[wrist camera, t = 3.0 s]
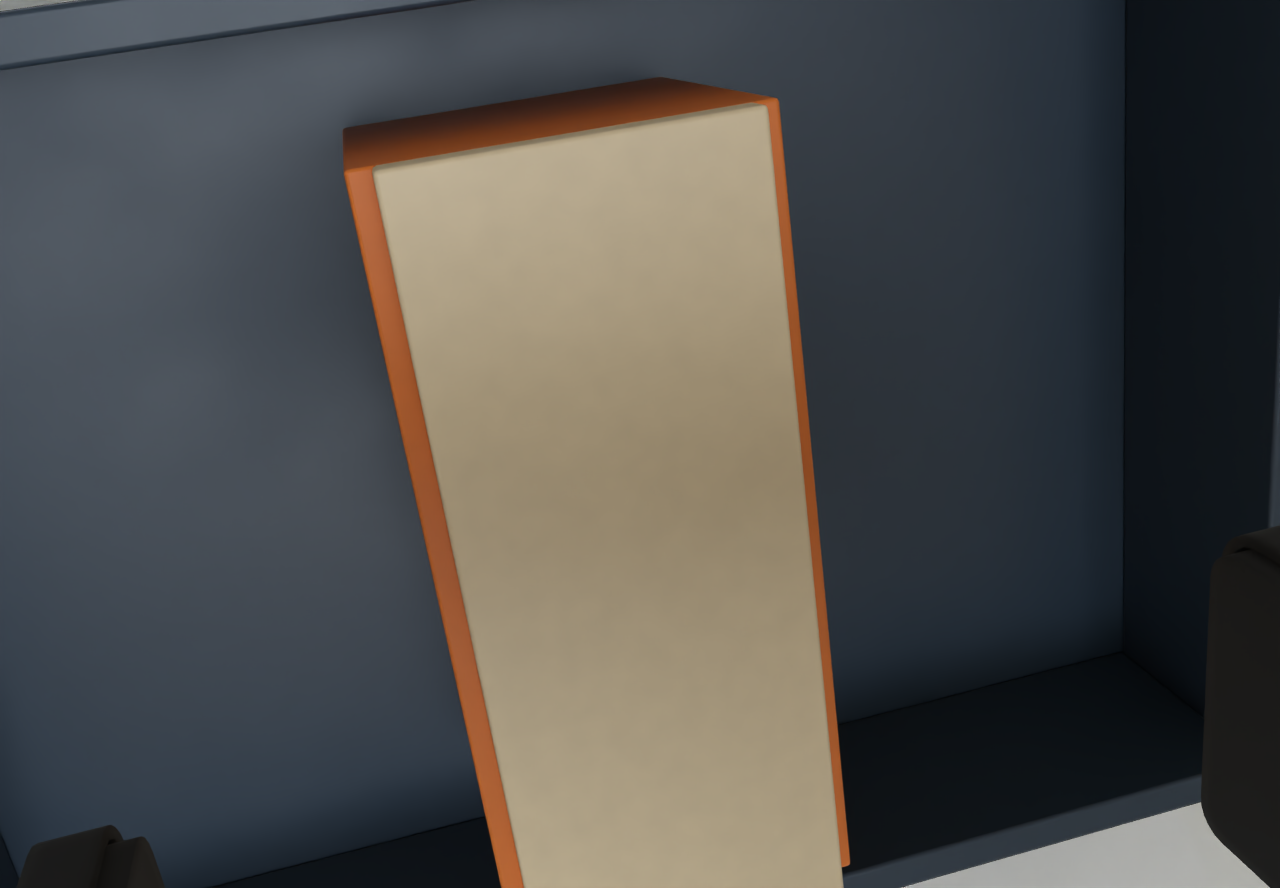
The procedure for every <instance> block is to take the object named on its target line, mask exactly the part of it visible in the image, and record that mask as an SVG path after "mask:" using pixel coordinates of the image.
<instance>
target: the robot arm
mask: <svg viewBox="0 0 1280 888" xmlns="http://www.w3.org/2000/svg"><path fill="white" fill-rule="evenodd" d="M1201 805H1202V809H1203V813H1204V816H1205V818H1206V820H1207V823H1208V825H1209V827H1210V828H1211V830H1212V831H1213V833H1214V835H1215V836H1216V837H1217V838H1218V839H1219V840H1220V841H1221V842H1222V843H1223V844H1224V845H1225V846H1226V847H1227V848H1228V849H1229V850H1230V851H1231V852H1232V853H1233V854H1235V855H1236V856H1237V857H1238V858H1239V859H1240V860H1241V861H1242V862H1243V863H1244V864H1245V865H1246V866H1247V867H1249V868H1250V869H1251V870H1252V871H1253V872H1254V873H1255V874H1256V875H1257V876H1258V877H1259V878H1260V879H1261V880H1262V881H1264V882H1265V883H1266V884H1267V885H1268V886H1269V887H1270V888H1280V525H1279V526H1275V527H1271V528H1267V529H1264V530H1260V531H1256V532H1252V533H1248V534H1244V535H1240V536H1236V537H1234V538H1233V539H1231V540H1230V541H1228V543H1227V545H1226V546H1225V548H1224V550H1223V554H1222V557H1220V558H1219V559H1217V560H1216V561H1215V563H1214V564H1213V566H1212V570H1211V576H1210V598H1209V621H1208V644H1207V667H1206V690H1205V713H1204V736H1203V759H1202V782H1201ZM16 888H165V885H164V882H163V880H162V877H161V874H160V871H159V868H158V865H157V862H156V860H155V857H154V854H153V851H152V849H151V846H150V844H149V842H148V841H147V840H146V838H145V837H142V836H140V837H136V838H132V839H128V840H123V838H122V835H121V834H120V832H119V831H118V830H117V828H116V827H115V826H112V825H106V826H102V827H98V828H95V829H91V830H87V831H83V832H79V833H75V834H71V835H67V836H63V837H59V838H55V839H52V840H48V841H44V842H40V843H37V844H35V845H34V846H32V847H31V849H30V851H29V853H28V855H27V857H26V860H25V863H24V866H23V869H22V872H21V875H20V878H19V881H18V884H17V887H16Z"/></svg>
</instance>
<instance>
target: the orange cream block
mask: <svg viewBox="0 0 1280 888" xmlns="http://www.w3.org/2000/svg"><path fill="white" fill-rule="evenodd" d="M342 136H343V165H344V178H345V182H346V187H347V191H348V196H349V200H350V205H351V210H352V214H353V219H354V223H355V228H356V232H357V237H358V241H359V246H360V250H361V255H362V259H363V264H364V268H365V273H366V277H367V282H368V287H369V291H370V296H371V300H372V305H373V309H374V314H375V318H376V323H377V327H378V332H379V336H380V341H381V345H382V350H383V354H384V359H385V363H386V368H387V373H388V377H389V382H390V386H391V391H392V395H393V400H394V404H395V409H396V413H397V418H398V422H399V427H400V431H401V436H402V440H403V445H404V450H405V454H406V459H407V463H408V468H409V472H410V477H411V481H412V486H413V490H414V495H415V499H416V504H417V508H418V513H419V517H420V522H421V527H422V531H423V536H424V540H425V545H426V549H427V554H428V558H429V563H430V567H431V572H432V576H433V581H434V585H435V590H436V594H437V599H438V604H439V608H440V613H441V617H442V622H443V626H444V631H445V635H446V640H447V644H448V649H449V653H450V658H451V662H452V667H453V671H454V676H455V680H456V685H457V690H458V694H459V699H460V703H461V708H462V712H463V717H464V721H465V726H466V730H467V735H468V739H469V744H470V748H471V753H472V757H473V762H474V767H475V771H476V776H477V780H478V785H479V789H480V794H481V798H482V803H483V807H484V812H485V816H486V821H487V825H488V830H489V834H490V839H491V844H492V848H493V853H494V857H495V862H496V866H497V871H498V875H499V880H500V884H501V888H844V887H843V877H842V867H845V866H848V865H850V855H849V844H848V833H847V823H846V812H845V801H844V791H843V780H842V769H841V759H840V748H839V737H838V727H837V716H836V705H835V695H834V684H833V673H832V663H831V652H830V641H829V631H828V620H827V609H826V599H825V588H824V577H823V567H822V556H821V545H820V534H819V524H818V513H817V502H816V492H815V481H814V470H813V460H812V449H811V438H810V428H809V417H808V406H807V396H806V385H805V374H804V364H803V353H802V342H801V332H800V321H799V310H798V300H797V289H796V278H795V268H794V257H793V246H792V235H791V225H790V214H789V203H788V193H787V182H786V171H785V161H784V150H783V139H782V129H781V118H780V107H779V101H778V99H777V98H774V97H769V96H763V95H758V94H752V93H747V92H741V91H736V90H730V89H725V88H719V87H714V86H708V85H703V84H698V83H692V82H687V81H681V80H676V79H670V78H665V77H657V78H650V79H644V80H638V81H632V82H626V83H619V84H613V85H607V86H601V87H595V88H589V89H582V90H576V91H570V92H564V93H558V94H552V95H545V96H539V97H533V98H527V99H521V100H514V101H508V102H502V103H496V104H490V105H484V106H477V107H471V108H465V109H459V110H453V111H447V112H440V113H434V114H428V115H422V116H416V117H409V118H403V119H397V120H391V121H385V122H379V123H372V124H366V125H360V126H354V127H348V128H344V129H343V132H342Z"/></svg>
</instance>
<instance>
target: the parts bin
mask: <svg viewBox="0 0 1280 888" xmlns="http://www.w3.org/2000/svg"><path fill="white" fill-rule="evenodd" d="M657 77H665V78H670V79H676V80H681V81H687V82H692V83H698V84H703V85H708V86H714V87H719V88H725V89H730V90H736V91H741V92H747V93H752V94H758V95H763V96H769V97H774V98H777V99H778V101H779V107H780V118H781V129H782V139H783V150H784V161H785V171H786V182H787V193H788V203H789V214H790V225H791V235H792V246H793V257H794V268H795V278H796V289H797V300H798V310H799V321H800V332H801V342H802V353H803V364H804V374H805V385H806V396H807V406H808V417H809V428H810V438H811V449H812V460H813V470H814V481H815V492H816V502H817V513H818V524H819V534H820V545H821V556H822V567H823V577H824V588H825V599H826V609H827V620H828V631H829V641H830V652H831V663H832V673H833V684H834V695H835V705H836V716H837V727H838V737H839V748H840V759H841V769H842V780H843V791H844V801H845V812H846V823H847V833H848V844H849V855H850V865H848V866H845V867H842V877H843V887H844V888H901V887H905V886H908V885H912V884H915V883H919V882H922V881H926V880H929V879H933V878H936V877H940V876H943V875H947V874H950V873H954V872H958V871H961V870H965V869H968V868H972V867H975V866H979V865H982V864H986V863H989V862H993V861H996V860H1000V859H1003V858H1007V857H1010V856H1014V855H1017V854H1021V853H1024V852H1028V851H1031V850H1035V849H1038V848H1042V847H1045V846H1049V845H1052V844H1056V843H1059V842H1063V841H1066V840H1070V839H1073V838H1077V837H1080V836H1084V835H1087V834H1091V833H1094V832H1098V831H1101V830H1105V829H1108V828H1112V827H1115V826H1119V825H1122V824H1126V823H1129V822H1133V821H1136V820H1140V819H1143V818H1147V817H1150V816H1154V815H1157V814H1161V813H1164V812H1168V811H1171V810H1175V809H1178V808H1182V807H1185V806H1189V805H1192V804H1196V803H1199V802H1201V782H1202V759H1203V736H1204V713H1205V690H1206V667H1207V644H1208V621H1209V598H1210V576H1211V570H1212V566H1213V564H1214V563H1215V561H1216V560H1217V559H1219V558H1220V557H1222V554H1223V550H1224V548H1225V546H1226V545H1227V543H1228V541H1230V540H1231V539H1233V538H1234V537H1236V536H1240V535H1244V534H1248V533H1252V532H1256V531H1260V530H1264V529H1267V528H1271V527H1275V526H1279V525H1280V0H78V1H71V2H64V3H57V4H50V5H42V6H35V7H28V8H21V9H14V10H7V11H0V888H16V887H17V884H18V881H19V878H20V875H21V872H22V869H23V866H24V863H25V860H26V857H27V855H28V853H29V851H30V849H31V847H32V846H34V845H35V844H37V843H40V842H44V841H48V840H52V839H55V838H59V837H63V836H67V835H71V834H75V833H79V832H83V831H87V830H91V829H95V828H98V827H102V826H106V825H112V826H115V827H116V828H117V830H118V831H119V832H120V834H121V835H122V838H123V840H128V839H132V838H136V837H140V836H142V837H145V838H146V840H147V841H148V842H149V844H150V846H151V849H152V851H153V854H154V857H155V860H156V862H157V865H158V868H159V871H160V874H161V877H162V880H163V882H164V885H165V888H501V884H500V880H499V875H498V871H497V866H496V862H495V857H494V853H493V848H492V844H491V839H490V834H489V830H488V825H487V821H486V816H485V812H484V807H483V803H482V798H481V794H480V789H479V785H478V780H477V776H476V771H475V767H474V762H473V757H472V753H471V748H470V744H469V739H468V735H467V730H466V726H465V721H464V717H463V712H462V708H461V703H460V699H459V694H458V690H457V685H456V680H455V676H454V671H453V667H452V662H451V658H450V653H449V649H448V644H447V640H446V635H445V631H444V626H443V622H442V617H441V613H440V608H439V604H438V599H437V594H436V590H435V585H434V581H433V576H432V572H431V567H430V563H429V558H428V554H427V549H426V545H425V540H424V536H423V531H422V527H421V522H420V517H419V513H418V508H417V504H416V499H415V495H414V490H413V486H412V481H411V477H410V472H409V468H408V463H407V459H406V454H405V450H404V445H403V440H402V436H401V431H400V427H399V422H398V418H397V413H396V409H395V404H394V400H393V395H392V391H391V386H390V382H389V377H388V373H387V368H386V363H385V359H384V354H383V350H382V345H381V341H380V336H379V332H378V327H377V323H376V318H375V314H374V309H373V305H372V300H371V296H370V291H369V287H368V282H367V277H366V273H365V268H364V264H363V259H362V255H361V250H360V246H359V241H358V237H357V232H356V228H355V223H354V219H353V214H352V210H351V205H350V200H349V196H348V191H347V187H346V182H345V178H344V165H343V136H342V132H343V129H344V128H348V127H354V126H360V125H366V124H372V123H379V122H385V121H391V120H397V119H403V118H409V117H416V116H422V115H428V114H434V113H440V112H447V111H453V110H459V109H465V108H471V107H477V106H484V105H490V104H496V103H502V102H508V101H514V100H521V99H527V98H533V97H539V96H545V95H552V94H558V93H564V92H570V91H576V90H582V89H589V88H595V87H601V86H607V85H613V84H619V83H626V82H632V81H638V80H644V79H650V78H657Z"/></svg>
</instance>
